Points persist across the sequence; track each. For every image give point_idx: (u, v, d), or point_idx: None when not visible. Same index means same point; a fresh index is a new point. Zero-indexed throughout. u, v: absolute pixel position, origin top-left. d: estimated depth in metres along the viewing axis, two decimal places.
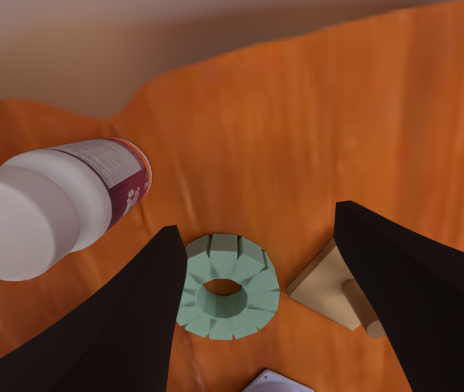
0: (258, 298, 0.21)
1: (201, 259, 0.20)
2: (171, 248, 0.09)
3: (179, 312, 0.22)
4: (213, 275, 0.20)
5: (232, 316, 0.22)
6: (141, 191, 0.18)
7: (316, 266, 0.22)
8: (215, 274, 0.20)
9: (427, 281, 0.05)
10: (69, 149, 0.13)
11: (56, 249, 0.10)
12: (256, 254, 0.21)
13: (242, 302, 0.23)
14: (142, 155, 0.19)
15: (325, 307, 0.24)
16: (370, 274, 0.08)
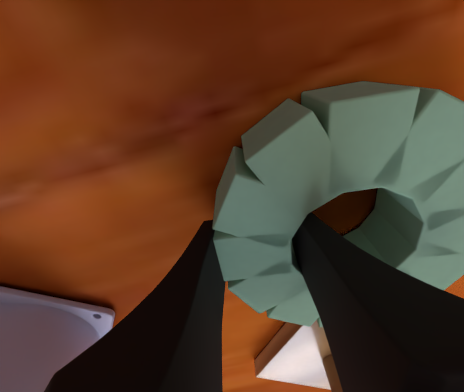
0: None
1: None
2: None
3: (305, 152, 0.07)
4: (436, 218, 0.08)
5: (296, 269, 0.10)
6: None
7: None
8: (438, 221, 0.08)
9: (343, 290, 0.05)
10: None
11: None
12: None
13: None
14: None
15: (295, 348, 0.16)
16: (314, 280, 0.08)
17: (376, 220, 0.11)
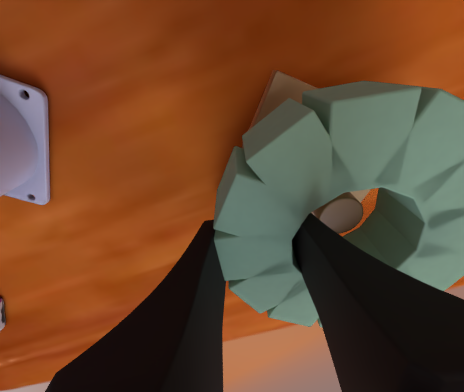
0: None
1: None
2: None
3: (307, 151, 0.07)
4: (438, 218, 0.08)
5: (296, 269, 0.10)
6: None
7: None
8: (439, 221, 0.08)
9: (342, 291, 0.05)
10: None
11: None
12: None
13: None
14: None
15: None
16: (313, 281, 0.08)
17: (377, 220, 0.11)
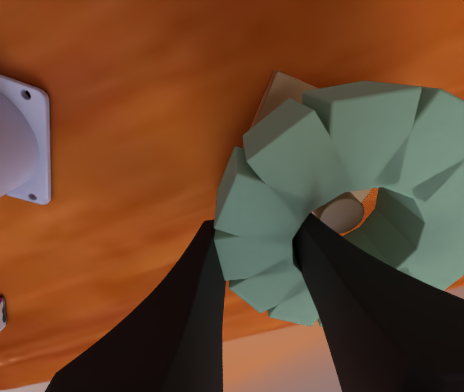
0: None
1: None
2: None
3: (307, 151, 0.07)
4: (437, 217, 0.08)
5: (297, 269, 0.10)
6: None
7: None
8: (439, 221, 0.08)
9: (342, 290, 0.05)
10: None
11: None
12: None
13: None
14: None
15: None
16: (314, 281, 0.08)
17: (377, 220, 0.11)
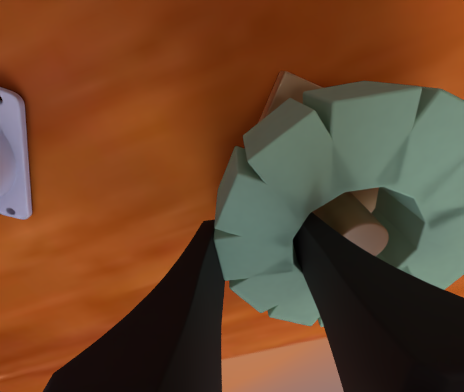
0: None
1: None
2: None
3: (308, 151, 0.07)
4: (437, 217, 0.08)
5: (297, 269, 0.10)
6: None
7: None
8: (439, 220, 0.08)
9: (344, 290, 0.05)
10: None
11: None
12: None
13: None
14: None
15: None
16: (315, 280, 0.08)
17: None
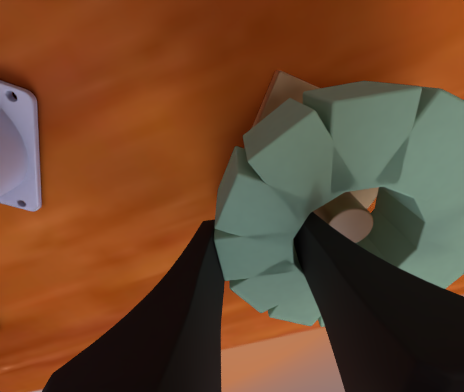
0: None
1: None
2: None
3: (308, 151, 0.07)
4: (438, 217, 0.08)
5: (297, 269, 0.10)
6: None
7: None
8: (439, 220, 0.08)
9: (346, 290, 0.05)
10: None
11: None
12: None
13: None
14: None
15: None
16: (316, 280, 0.08)
17: (377, 219, 0.11)
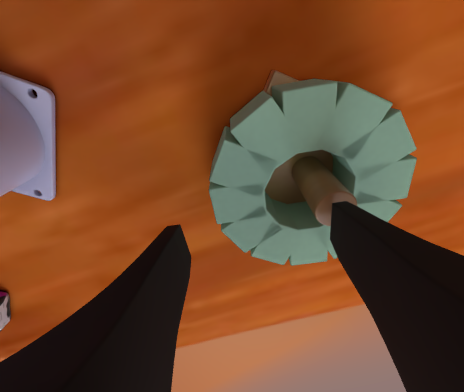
0: (314, 240, 0.14)
1: (400, 147, 0.11)
2: (175, 247, 0.09)
3: (269, 124, 0.10)
4: (363, 172, 0.12)
5: (269, 214, 0.13)
6: None
7: None
8: (364, 175, 0.12)
9: (419, 282, 0.05)
10: None
11: None
12: None
13: (284, 216, 0.14)
14: None
15: None
16: (365, 275, 0.08)
17: None
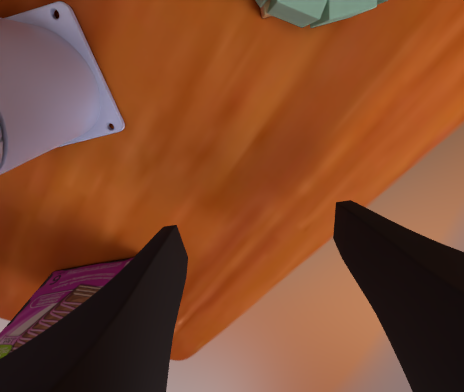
0: None
1: None
2: (171, 248, 0.09)
3: None
4: None
5: None
6: None
7: None
8: None
9: (427, 281, 0.05)
10: None
11: None
12: None
13: None
14: None
15: None
16: (370, 274, 0.08)
17: None
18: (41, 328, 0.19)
